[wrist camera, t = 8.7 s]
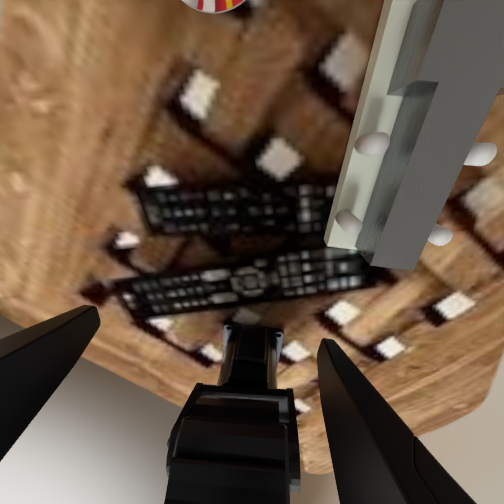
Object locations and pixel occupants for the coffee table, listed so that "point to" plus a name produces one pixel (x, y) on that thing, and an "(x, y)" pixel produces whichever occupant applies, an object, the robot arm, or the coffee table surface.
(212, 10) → the soda can
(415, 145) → the grey t-shaped plate
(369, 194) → the rack
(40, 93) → the coffee table surface
